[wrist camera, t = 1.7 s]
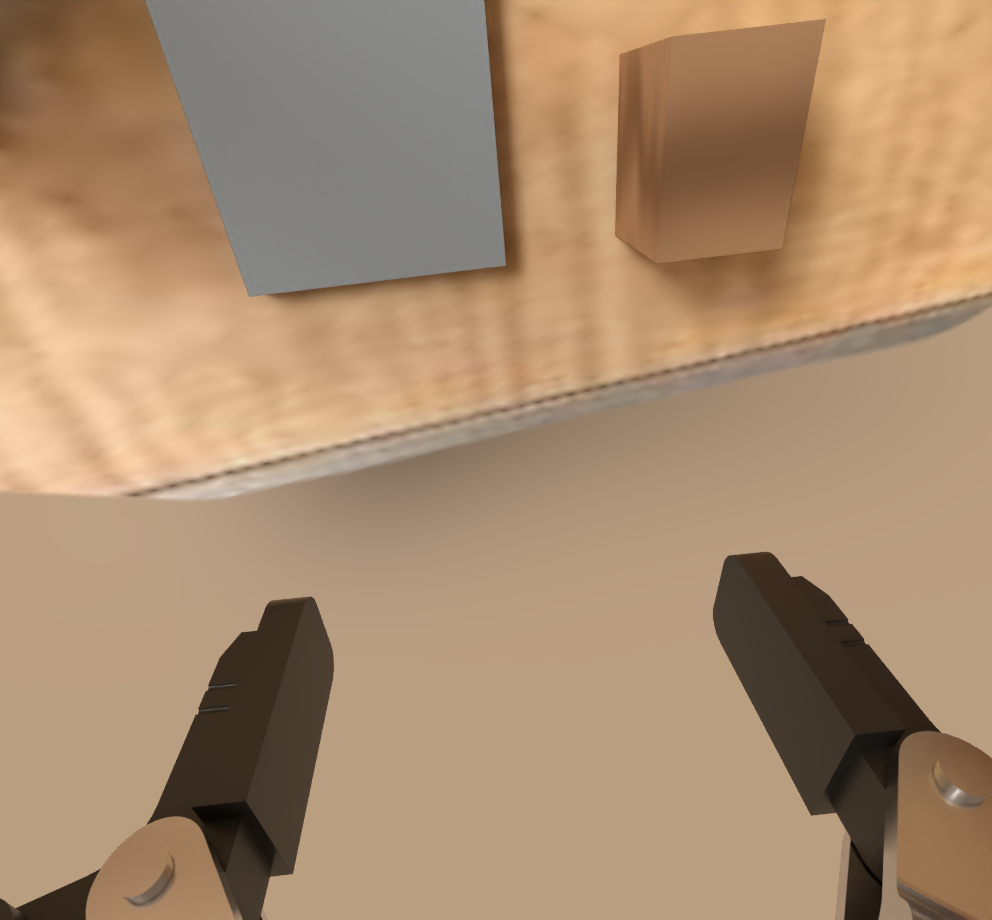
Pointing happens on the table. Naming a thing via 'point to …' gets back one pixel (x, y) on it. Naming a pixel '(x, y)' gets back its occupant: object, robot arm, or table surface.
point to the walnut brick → (712, 139)
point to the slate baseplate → (341, 134)
